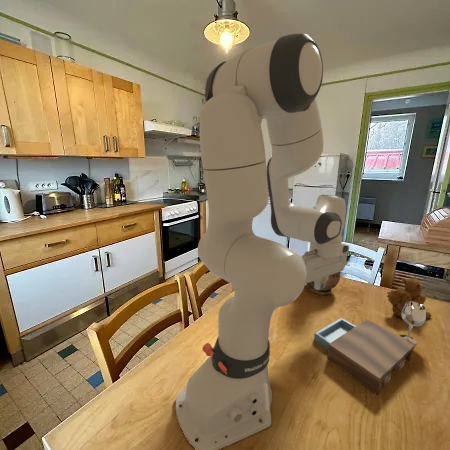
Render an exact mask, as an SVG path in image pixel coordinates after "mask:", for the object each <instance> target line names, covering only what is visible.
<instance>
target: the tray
mask: <svg viewBox="0 0 450 450" xmlns="http://www.w3.org/2000/svg"><path fill="white" fill-rule="evenodd" d="M356 326H357V325H356V324H355V325H354V324H353V323H351V322H350V321H348V320H346V319H344V318H342V317H340V318H339V319H337V320H334V321H333V322H332V323H329V324H328V325H327V326H324V327H323V328H321V329H320V330H318V331H316V332H314V334H313V335H314V336H313V341H315V342H316V343H317V344H318V345H321V347H323V348H324V349H325V350H327V351H329V344H330V343H331V342H333V341H334V340H336V339H337V338H339V337H340V336H342V335H343V334H345V333H347V332H348V331H350V330H351V329H353V328H354V327H356Z"/></svg>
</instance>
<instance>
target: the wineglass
mask: <svg viewBox="0 0 450 450" xmlns="http://www.w3.org/2000/svg"><path fill="white" fill-rule="evenodd" d="M426 312H427V310H426V306H425V305H424V304H423V305H421V304H419V303H416V302H412V301H408V302H406V303H405V305H404V307H403V309H402V312H401V316H402V318H401V319H402V320H403V322H404V323H406V324H408V333H407V334H400V335H399V336H401V337H403V338H405V339H406V340H408V341H410V342H412V343H414V344H416V345H417V344H418V343H417V340H416V339H415V338H413V337H412V336H411V332H412V330H413V328H414V327H421V326H423V325H424V324H425V322H426V320H427V319H426Z"/></svg>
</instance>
